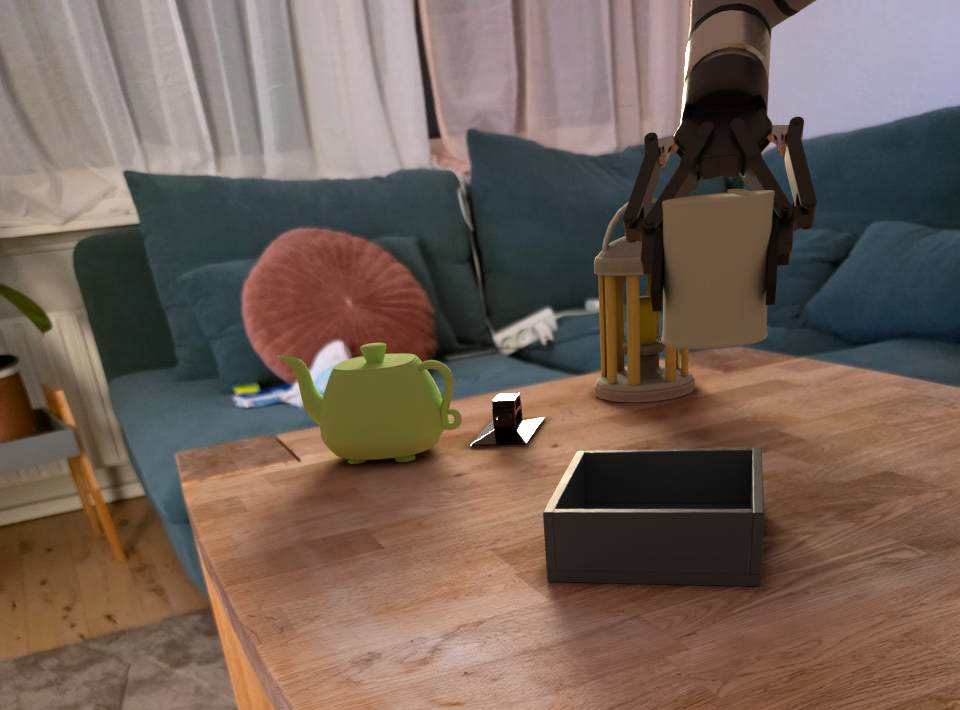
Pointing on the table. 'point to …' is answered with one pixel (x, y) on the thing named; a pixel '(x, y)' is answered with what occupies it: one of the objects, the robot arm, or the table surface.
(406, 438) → the teapot
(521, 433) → the dark brown finned block
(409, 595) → the table surface
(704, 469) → the dark grey open box
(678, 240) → the can
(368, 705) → the table surface
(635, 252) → the lantern
